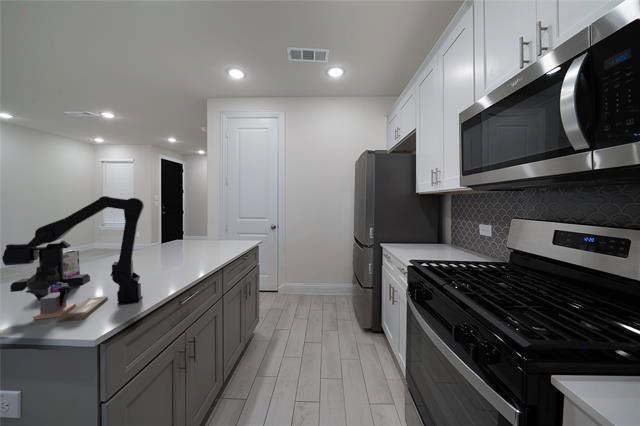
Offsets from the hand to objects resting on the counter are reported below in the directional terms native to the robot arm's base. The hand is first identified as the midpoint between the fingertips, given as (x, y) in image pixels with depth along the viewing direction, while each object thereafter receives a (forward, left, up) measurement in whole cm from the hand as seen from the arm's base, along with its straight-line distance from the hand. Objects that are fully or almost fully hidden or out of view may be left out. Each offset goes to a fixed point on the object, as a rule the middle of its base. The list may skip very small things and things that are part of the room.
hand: (53, 307), depth 90 cm
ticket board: (-9, 0, -2) cm, 9 cm away
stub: (0, 0, -2) cm, 2 cm away
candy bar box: (+11, -28, -2) cm, 30 cm away
